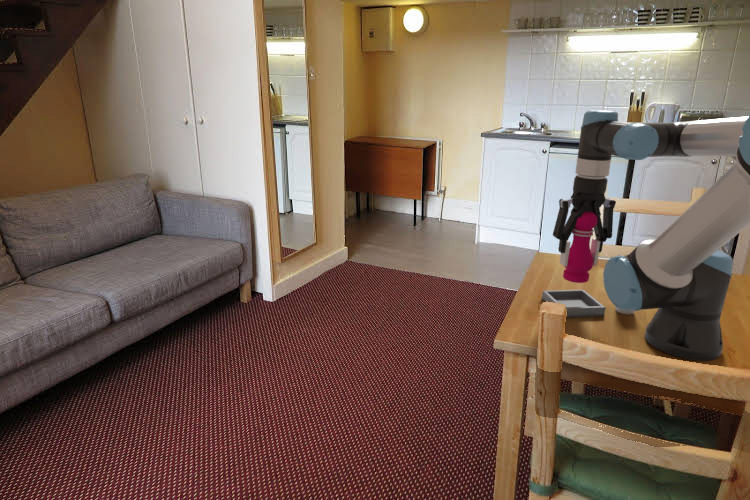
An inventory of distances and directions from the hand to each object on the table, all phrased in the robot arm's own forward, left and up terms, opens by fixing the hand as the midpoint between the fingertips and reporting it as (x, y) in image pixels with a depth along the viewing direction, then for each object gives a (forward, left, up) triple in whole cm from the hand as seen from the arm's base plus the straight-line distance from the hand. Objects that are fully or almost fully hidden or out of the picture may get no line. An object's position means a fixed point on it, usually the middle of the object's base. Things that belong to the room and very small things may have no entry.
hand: (577, 264), depth 128 cm
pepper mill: (0, 0, -4) cm, 4 cm away
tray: (0, 0, -12) cm, 12 cm away
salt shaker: (-3, -13, -12) cm, 18 cm away
